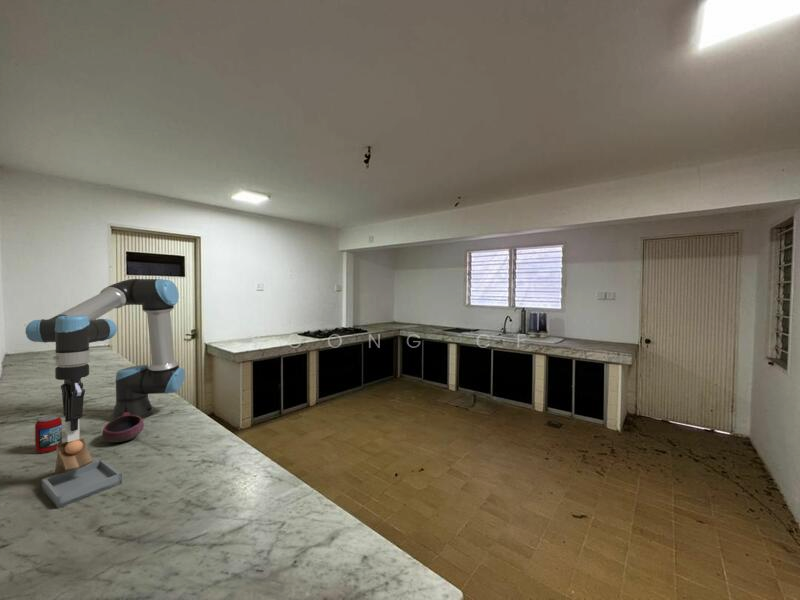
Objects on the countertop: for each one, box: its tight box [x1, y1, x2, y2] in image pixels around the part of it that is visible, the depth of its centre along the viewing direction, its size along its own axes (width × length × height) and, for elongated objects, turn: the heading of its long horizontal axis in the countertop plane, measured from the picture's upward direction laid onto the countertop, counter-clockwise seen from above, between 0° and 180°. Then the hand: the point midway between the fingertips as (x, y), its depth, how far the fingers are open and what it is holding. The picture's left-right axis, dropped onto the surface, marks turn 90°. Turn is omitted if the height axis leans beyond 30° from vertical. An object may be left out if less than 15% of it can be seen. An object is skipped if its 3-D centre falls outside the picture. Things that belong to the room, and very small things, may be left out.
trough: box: [54, 436, 94, 475], centre depth 104 cm, size 6×11×10 cm
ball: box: [65, 440, 83, 454], centre depth 103 cm, size 4×4×4 cm
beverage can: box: [34, 414, 63, 454], centre depth 122 cm, size 7×7×12 cm
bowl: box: [101, 412, 145, 443], centre depth 132 cm, size 16×13×8 cm
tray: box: [41, 458, 123, 509], centre depth 100 cm, size 14×16×3 cm
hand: (72, 439), depth 103 cm, fingers closed
